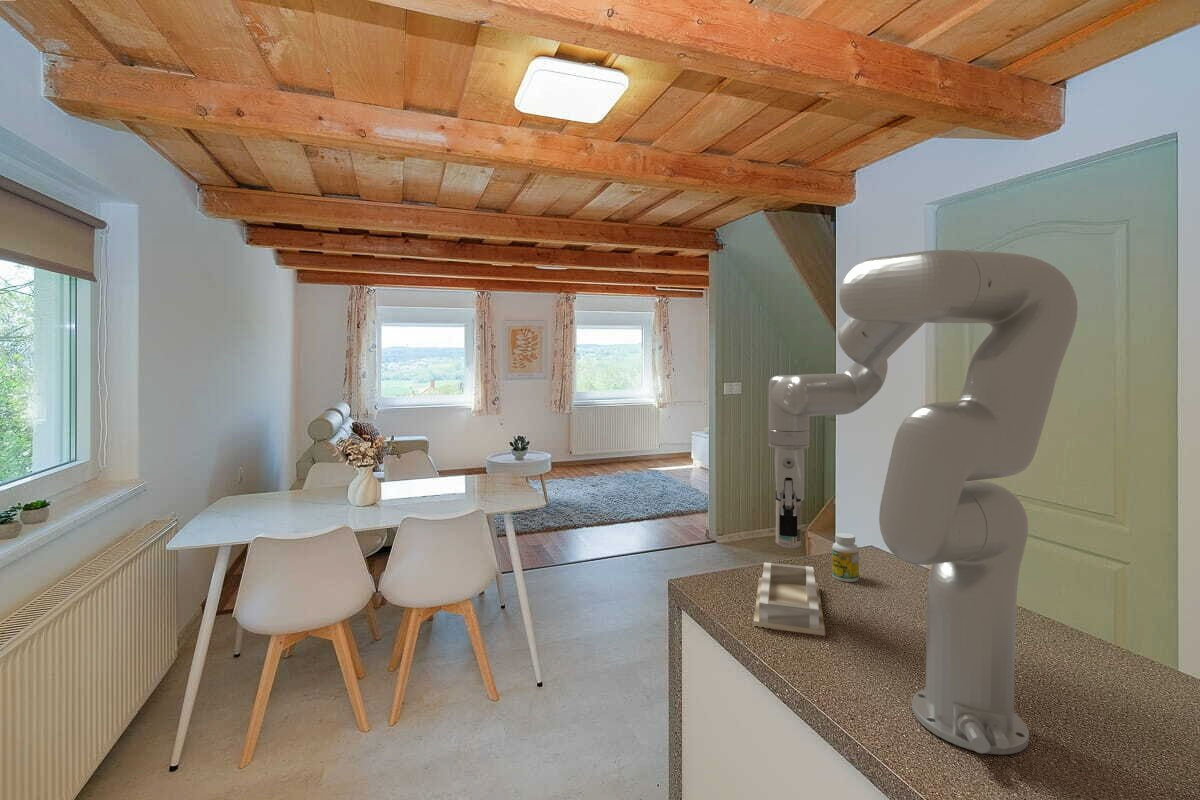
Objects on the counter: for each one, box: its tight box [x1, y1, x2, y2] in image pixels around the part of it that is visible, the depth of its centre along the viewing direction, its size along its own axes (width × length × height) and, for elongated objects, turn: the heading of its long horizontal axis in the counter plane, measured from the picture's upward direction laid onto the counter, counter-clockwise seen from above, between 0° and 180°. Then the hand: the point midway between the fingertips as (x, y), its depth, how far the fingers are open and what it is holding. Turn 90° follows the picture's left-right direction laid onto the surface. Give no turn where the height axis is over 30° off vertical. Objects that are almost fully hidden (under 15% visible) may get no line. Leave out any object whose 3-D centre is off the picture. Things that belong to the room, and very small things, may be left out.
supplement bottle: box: [831, 532, 860, 583], centre depth 122 cm, size 5×5×10 cm
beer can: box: [775, 489, 802, 549], centre depth 107 cm, size 5×5×12 cm
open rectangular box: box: [752, 562, 826, 637], centre depth 108 cm, size 22×12×4 cm, turn 161°
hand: (788, 530), depth 107 cm, fingers closed on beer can, 4 cm apart
